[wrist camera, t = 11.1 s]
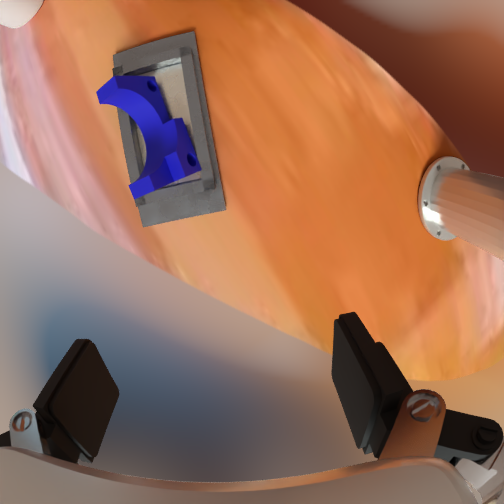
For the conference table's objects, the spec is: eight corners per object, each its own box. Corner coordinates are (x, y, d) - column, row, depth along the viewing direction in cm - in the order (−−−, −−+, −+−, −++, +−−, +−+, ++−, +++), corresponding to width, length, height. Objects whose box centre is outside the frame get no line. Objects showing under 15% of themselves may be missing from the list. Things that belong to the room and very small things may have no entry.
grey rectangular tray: (195, 34, 25) (192, 24, 22) (226, 208, 32) (225, 213, 30) (115, 57, 25) (106, 50, 22) (145, 225, 32) (138, 232, 30)
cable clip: (201, 170, 28) (166, 185, 23) (170, 182, 30) (134, 199, 25) (164, 69, 24) (124, 67, 19) (136, 89, 26) (96, 91, 21)
